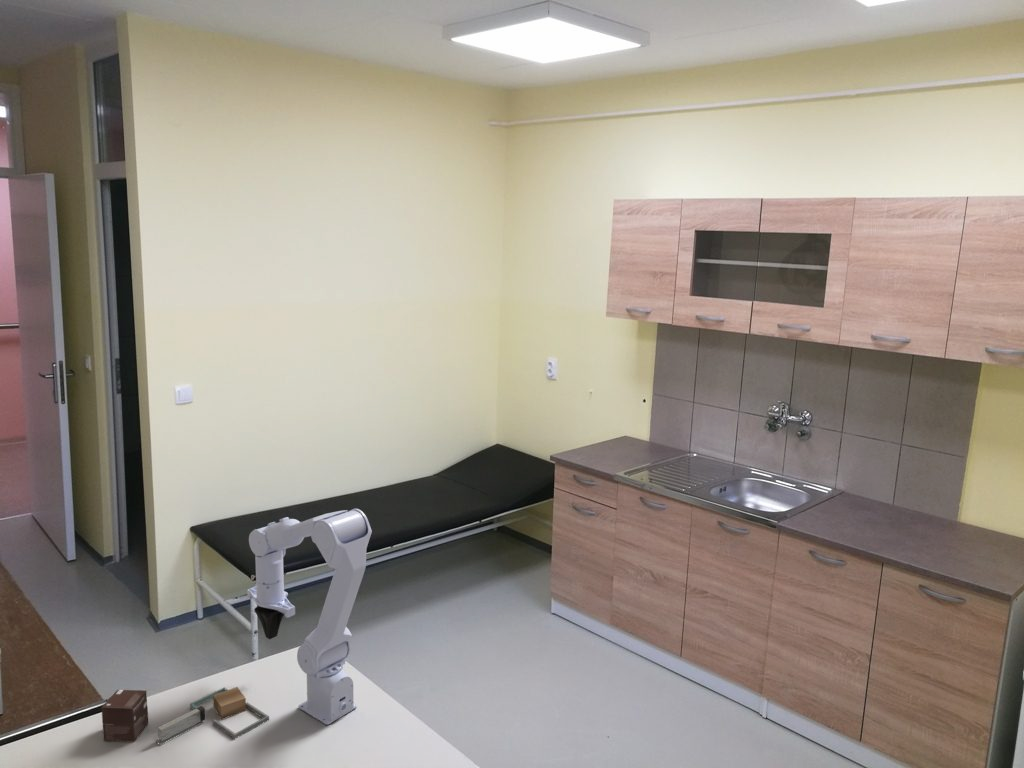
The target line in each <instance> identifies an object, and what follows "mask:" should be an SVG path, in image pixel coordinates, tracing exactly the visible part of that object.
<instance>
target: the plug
mask: <svg viewBox="0 0 1024 768" xmlns="http://www.w3.org/2000/svg"><path fill="white" fill-rule="evenodd" d="M246 701H247V698H246V696H245V695H244V693H243V692H242V691H241V690H240V689H239V687H238V686H237V687H233V688H230V689H228V690H226V691H223V692H220V693H217V694H214V695H213V698H212V704H213V709H214V710H215V712H216V713H217V715H218V716H219V718H220V720H222V719H225V718H229V717H231V715H232V716H234V714H235V715H237V714H240V713H242V712H246V711H247V707H246V703H247V702H246ZM239 712H240V713H239ZM228 716H229V717H228Z"/></svg>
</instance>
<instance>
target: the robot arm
mask: <svg viewBox="0 0 1024 768" xmlns="http://www.w3.org/2000/svg"><path fill="white" fill-rule="evenodd" d="M366 515H367V514H365V512H363V511H362V510H361V509H359V508H353V509H351V510H348V509H346V510H344V509H343V510H338V511H333V512H328V513H323V514H322V515H318V516H315V517H312V518H309V519H306V520H304V521H299V520H298V519H295V518H290V517H288V516H287V517H283V518H280V519H279V522H276V521H273V522H269V523H267V526H263V527H260V528H257V529H256V528H254V529H253V530H252V531H251V532H250V533H249V536H248V544H249V548H250V550H251V551H252V553H253V555H255V558H254V560H255V561H254V562H255V581H256V585H255V586H253V587H250V588H248V589H246V594H247V597H246V598H247V599H249V600H251V599H253V601H254V603H255V604H256V605H257V606H256V607H254V613H255V614H256V615H257V617H258V619H259V620H260V623H261V627H262V628H263V632H264V635H265V638H266V639H267V640H271V639H274V638H275V637H277V636H278V633H279V630H280V626H281V622H282V620H283V617H285V618H286V619H288V618H291V617H293V616H295V615H296V606H295V605H293V604H292V603H291V602H290V601H289V599H288V598H287V597H288V596H289V593H288V592H287V591H285V585H284V584H285V581H284V580H285V579H284V577H285V575H284V574H285V573H284V557H285V555H286V553H287V552H286V551H287V549H290V548H294V547H296V546H297V547H298V546H299V545H300V544H301V543H302V542H303V541H304V539H305V538H308V537H311V540H312V543H314V544H315V546H316V547H317V548H318V551H319V552H320V554H321V556H322V557H323V559H324V560H325V562H326V564H327V566H328V567H329V568H331V569H332V568H333V569H334V573H333V576H332V577H331V578H332V579H331V582H330V585H329V588H328V591H327V595H326V597H325V601H324V604H323V608H322V611H321V614H320V616H319V619H318V624H317V626H316V627H315V629H314V630H312V631H311V632H310V633H309V634H308V635H307V636H306V637H305V638H304V642H303V644H301V645H300V646H299V647H298V648H297V654H296V657H297V658H296V660H297V663H298V665H299V667H300V669H301V670H302V672H304V674H306V699H307V700H305V701H303V702H301V703H300V704H298V709H300V710H301V711H303V712H305V713H306V714H308V715H310V716H311V717H314V718H315V719H316V720H318V721H320V722H321V723H323V724H324V725H330V724H332V723H334V722H335V721H337V720H338V719H340V718H341V717H343V716H345V715H347V714H348V713H350V712H351V711H353V710H355V709H356V708H357V706H358V705H357V704H356V703H355V702H354V681H353V679H352V678H351V676H349V675H348V674H347V672H346V671H345V670H344V665H345V664H346V658H348V657H349V656H350V654H351V650H352V647H351V646H352V644H351V640H352V637H353V635H352V633H351V631H350V629H349V628H348V627H347V625H348V622H349V618H350V616H351V613H352V610H353V607H354V604H355V602H356V598H357V594H358V592H359V590H360V586H361V583H362V580H363V577H364V574H365V571H366V568H367V548H368V544H369V542H370V538H371V535H372V533H373V531H372V530H373V529H372V528H371V524H370V522H369V519H368V517H367V516H366Z"/></svg>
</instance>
